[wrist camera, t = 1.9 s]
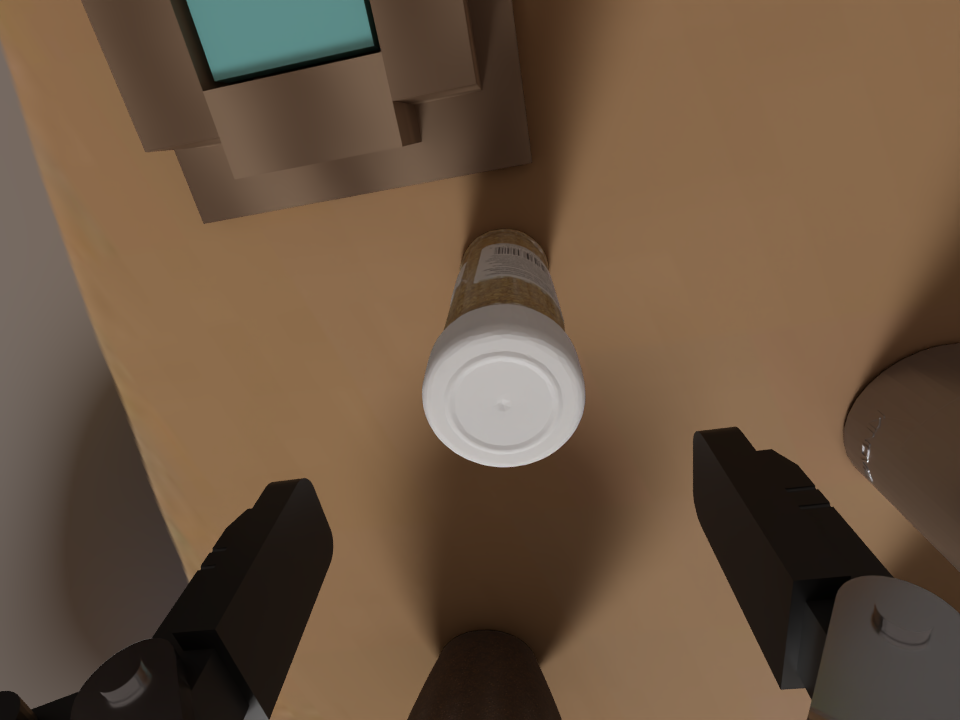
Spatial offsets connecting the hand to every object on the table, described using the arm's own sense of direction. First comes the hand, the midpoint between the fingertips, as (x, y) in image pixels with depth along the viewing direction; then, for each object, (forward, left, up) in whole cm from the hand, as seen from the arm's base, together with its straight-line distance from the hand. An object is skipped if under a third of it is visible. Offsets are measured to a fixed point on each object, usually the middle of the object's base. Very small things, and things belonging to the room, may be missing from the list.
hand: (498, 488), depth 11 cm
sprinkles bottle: (0, 0, -17) cm, 17 cm away
